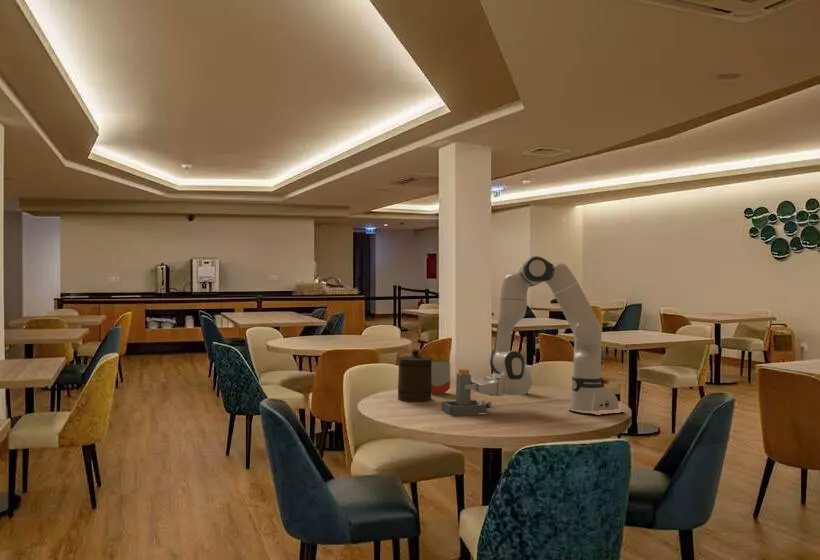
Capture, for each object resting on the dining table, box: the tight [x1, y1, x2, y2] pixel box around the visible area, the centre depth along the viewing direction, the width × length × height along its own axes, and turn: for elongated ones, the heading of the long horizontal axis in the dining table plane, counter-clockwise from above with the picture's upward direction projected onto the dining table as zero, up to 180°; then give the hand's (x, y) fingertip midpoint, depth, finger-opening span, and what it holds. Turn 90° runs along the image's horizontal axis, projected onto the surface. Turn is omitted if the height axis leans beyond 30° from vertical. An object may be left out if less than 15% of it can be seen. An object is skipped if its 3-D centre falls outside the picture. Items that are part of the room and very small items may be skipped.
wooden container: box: [397, 348, 432, 403], centre depth 306 cm, size 15×15×22 cm
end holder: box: [441, 399, 487, 416], centre depth 278 cm, size 15×11×4 cm
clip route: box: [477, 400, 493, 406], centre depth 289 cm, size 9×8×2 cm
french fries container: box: [429, 354, 451, 395], centre depth 321 cm, size 5×11×18 cm, turn 80°
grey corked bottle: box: [455, 368, 472, 405], centre depth 278 cm, size 4×4×14 cm
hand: (461, 385), depth 278 cm, fingers closed on grey corked bottle, 4 cm apart
